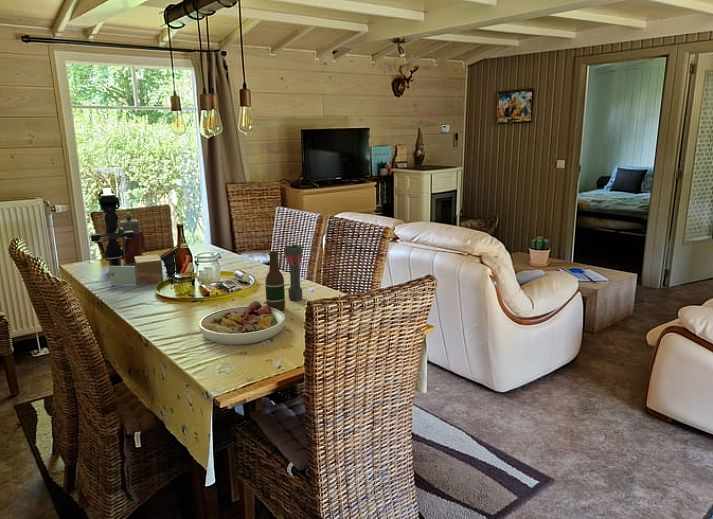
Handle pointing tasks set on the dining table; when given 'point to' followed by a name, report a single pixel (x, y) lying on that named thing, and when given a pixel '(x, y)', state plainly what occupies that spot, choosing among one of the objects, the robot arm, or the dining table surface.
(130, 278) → the door
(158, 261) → the walnut box
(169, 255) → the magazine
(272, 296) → the beer bottle
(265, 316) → the bowl
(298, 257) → the flashlight
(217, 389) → the dining table surface
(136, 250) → the red grey bottle
